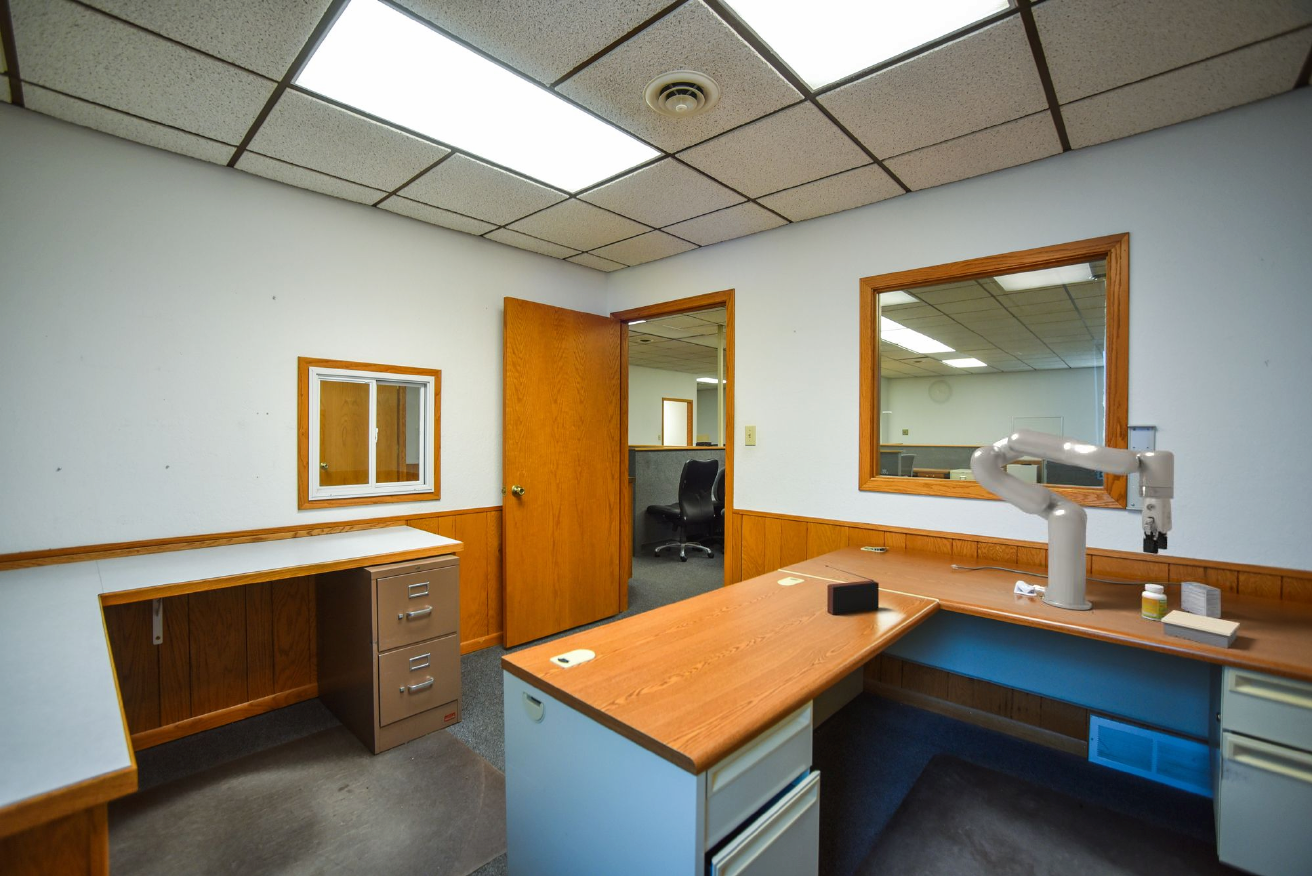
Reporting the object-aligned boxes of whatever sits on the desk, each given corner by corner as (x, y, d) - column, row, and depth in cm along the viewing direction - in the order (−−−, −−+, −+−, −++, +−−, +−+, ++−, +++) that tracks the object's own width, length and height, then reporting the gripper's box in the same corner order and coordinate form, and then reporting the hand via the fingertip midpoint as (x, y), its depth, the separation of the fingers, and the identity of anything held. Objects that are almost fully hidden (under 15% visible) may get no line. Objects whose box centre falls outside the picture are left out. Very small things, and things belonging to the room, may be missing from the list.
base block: (1160, 633, 148) (1161, 619, 148) (1173, 624, 156) (1173, 610, 156) (1229, 649, 138) (1230, 633, 138) (1239, 638, 145) (1239, 623, 145)
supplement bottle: (1161, 623, 157) (1162, 589, 156) (1138, 617, 161) (1138, 584, 161) (1169, 620, 159) (1170, 586, 159) (1146, 614, 164) (1147, 582, 164)
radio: (871, 606, 171) (872, 559, 171) (878, 610, 168) (878, 561, 168) (820, 612, 165) (821, 563, 165) (826, 616, 162) (827, 566, 162)
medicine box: (1221, 618, 160) (1221, 589, 160) (1205, 618, 161) (1206, 589, 160) (1195, 609, 168) (1195, 581, 168) (1180, 609, 168) (1180, 581, 168)
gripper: (1165, 496, 152) (1164, 557, 152) (1180, 491, 162) (1180, 549, 162) (1130, 493, 158) (1129, 552, 158) (1147, 489, 168) (1146, 545, 168)
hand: (1155, 550), depth 160 cm, fingers open, 9 cm apart
